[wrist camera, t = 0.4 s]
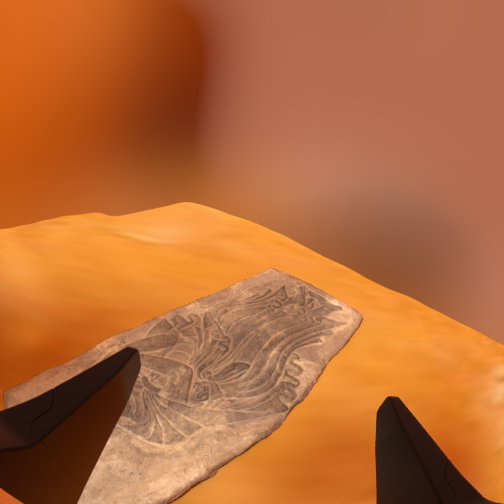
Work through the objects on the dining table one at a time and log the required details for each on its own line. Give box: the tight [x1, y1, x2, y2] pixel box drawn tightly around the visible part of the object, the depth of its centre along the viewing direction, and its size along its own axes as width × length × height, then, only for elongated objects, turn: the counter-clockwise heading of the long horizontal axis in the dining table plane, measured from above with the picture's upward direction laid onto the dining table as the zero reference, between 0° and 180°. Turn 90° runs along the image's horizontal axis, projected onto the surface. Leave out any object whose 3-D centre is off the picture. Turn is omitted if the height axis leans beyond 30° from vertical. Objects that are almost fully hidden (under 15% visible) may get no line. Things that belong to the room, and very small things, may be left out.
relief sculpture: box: [3, 268, 363, 504], centre depth 30 cm, size 19×45×1 cm, turn 139°
